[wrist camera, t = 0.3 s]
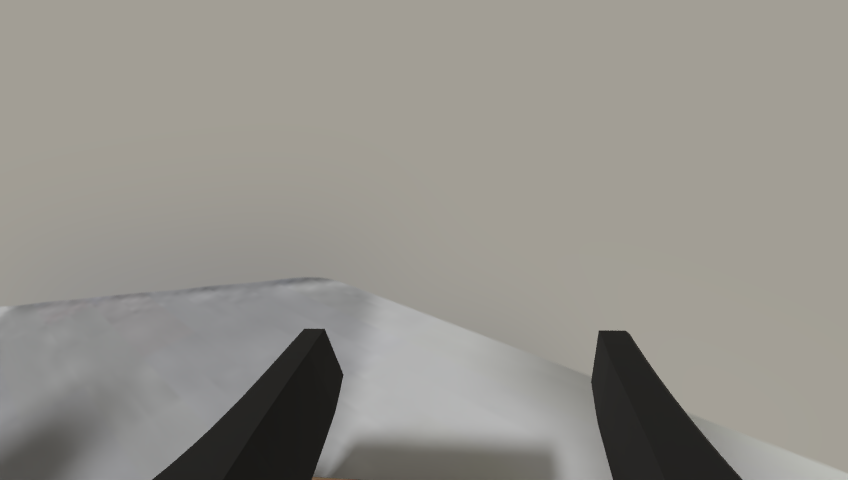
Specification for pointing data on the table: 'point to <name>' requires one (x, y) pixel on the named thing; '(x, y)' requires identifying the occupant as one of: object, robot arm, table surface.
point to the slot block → (317, 479)
